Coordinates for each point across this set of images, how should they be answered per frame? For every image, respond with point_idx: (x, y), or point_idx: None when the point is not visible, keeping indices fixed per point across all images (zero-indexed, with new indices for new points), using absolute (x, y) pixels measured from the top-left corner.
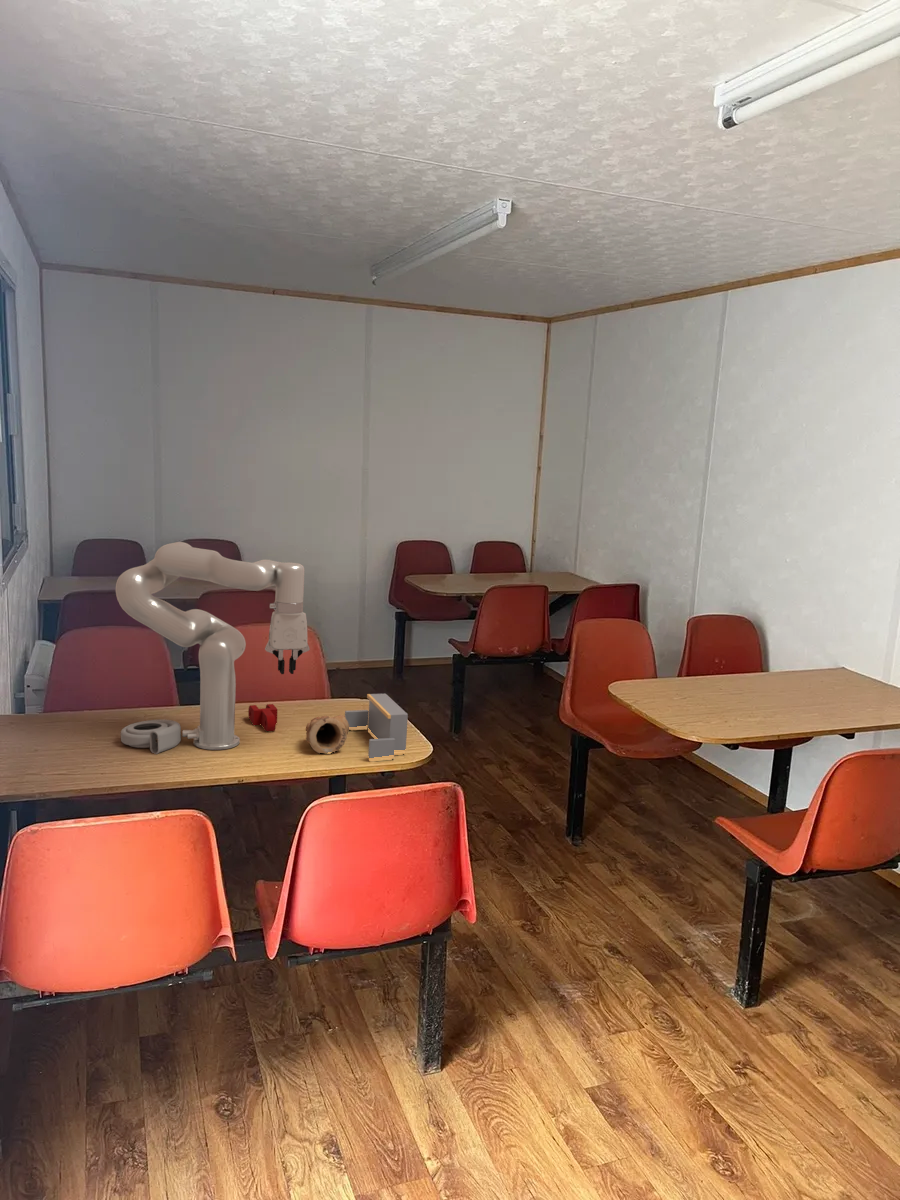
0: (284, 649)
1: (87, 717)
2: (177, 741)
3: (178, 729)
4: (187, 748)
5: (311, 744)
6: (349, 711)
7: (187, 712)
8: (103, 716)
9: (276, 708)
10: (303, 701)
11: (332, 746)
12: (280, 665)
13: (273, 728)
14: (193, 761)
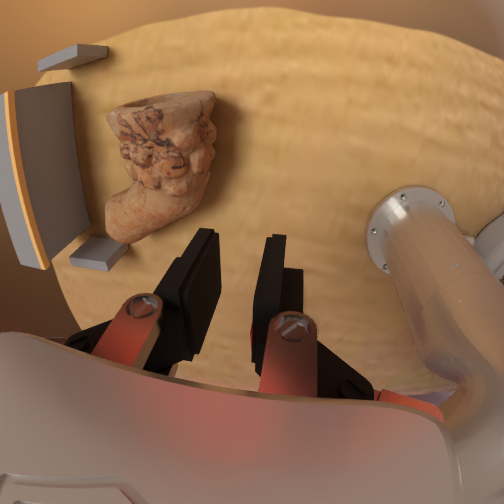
0: (246, 392)
1: None
2: (482, 236)
3: (488, 255)
4: (466, 218)
5: (212, 91)
6: (100, 265)
7: (381, 379)
8: None
9: (251, 337)
10: None
11: (161, 101)
12: (290, 289)
13: None
14: (480, 139)
